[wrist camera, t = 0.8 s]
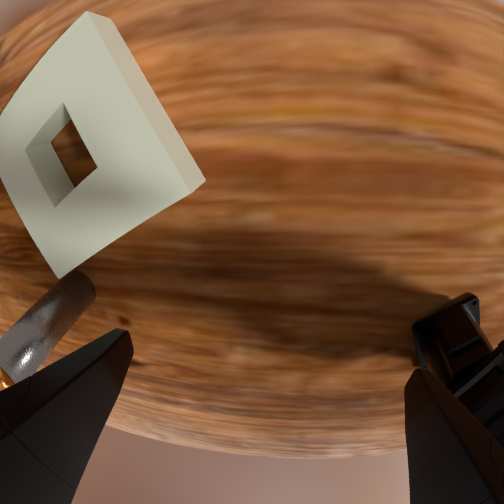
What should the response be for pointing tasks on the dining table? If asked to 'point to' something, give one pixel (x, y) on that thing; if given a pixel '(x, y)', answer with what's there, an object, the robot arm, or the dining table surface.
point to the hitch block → (90, 146)
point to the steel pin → (43, 327)
